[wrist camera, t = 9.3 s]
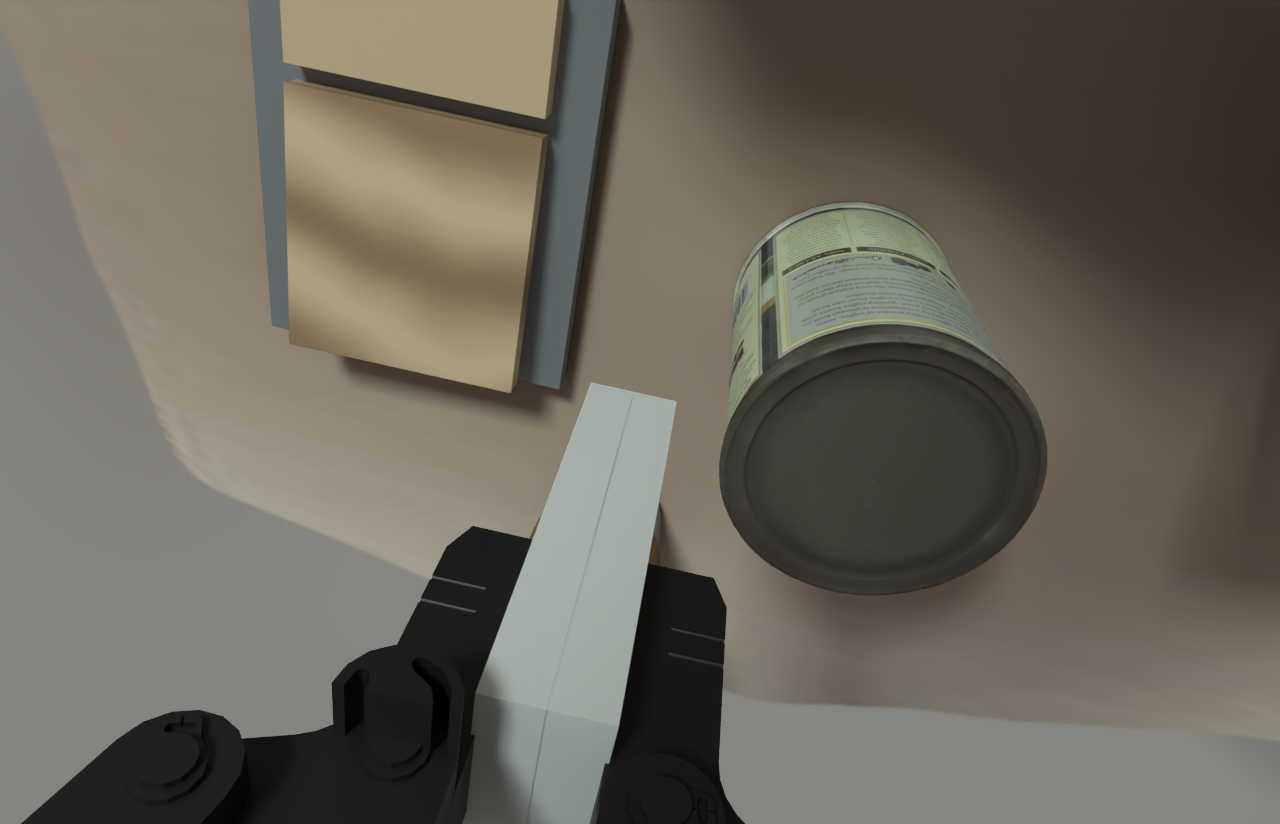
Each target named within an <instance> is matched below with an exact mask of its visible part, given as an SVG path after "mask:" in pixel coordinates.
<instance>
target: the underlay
mask: <svg viewBox="0 0 1280 824" xmlns="http://www.w3.org/2000/svg"><path fill="white" fill-rule="evenodd" d="M248 5H249V19H250V32H251V46H252V60H253V73H254V87H255V100H256V114H257V128H258V141H259V155H260V168H261V182H262V196H263V209H264V223H265V237H266V250H267V264H268V277H269V291H270V305H271V318H272V326H276V327H281V328H285V329H289V299H288V256H287V213H286V170H285V128H284V85H283V82H286V81H291V80H296V79H299V80H303V81H308V82H313V83H317V84H322V85H326V86H331V87H336V88H340V89H345V90H349V91H354V92H358V93H363V94H368V95H372V96H377V97H381V98H386V99H391V100H395V101H400V102H404V103H409V104H414V105H418V106H423V107H427V108H432V109H437V110H441V111H446V112H450V113H455V114H459V115H464V116H469V117H473V118H478V119H482V120H487V121H492V122H496V123H501V124H505V125H510V126H515V127H519V128H524V129H528V130H533V131H537V132H542V133H547V134H549V137H548V145H547V153H546V161H545V168H544V176H543V184H542V192H541V200H540V207H539V215H538V223H537V231H536V239H535V247H534V254H533V262H532V270H531V278H530V286H529V293H528V301H527V309H526V317H525V325H524V333H523V340H522V348H521V356H520V364H519V372H518V379H517V380H518V381H523V382H527V383H532V384H536V385H541V386H545V387H550V388H554V389H560V387H561V384H562V382H563V380H564V377H565V374H566V368H567V361H568V354H569V348H570V341H571V334H572V328H573V321H574V314H575V307H576V301H577V294H578V287H579V281H580V274H581V267H582V261H583V254H584V247H585V240H586V234H587V227H588V220H589V214H590V207H591V200H592V194H593V187H594V180H595V173H596V167H597V160H598V153H599V147H600V140H601V133H602V127H603V120H604V113H605V107H606V100H607V93H608V86H609V80H610V73H611V66H612V60H613V53H614V46H615V40H616V33H617V26H618V19H619V13H620V6H621V0H248Z"/></svg>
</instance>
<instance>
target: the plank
mask: <svg viewBox="0 0 1280 824" xmlns="http://www.w3.org/2000/svg"><path fill="white" fill-rule="evenodd" d="M283 85H284V128H285V170H286V213H287V256H288V299H289V342H290V344H293V345H297V346H301V347H306V348H310V349H315V350H319V351H324V352H328V353H333V354H337V355H342V356H346V357H351V358H355V359H360V360H364V361H369V362H373V363H378V364H382V365H387V366H391V367H396V368H400V369H405V370H409V371H413V372H418V373H422V374H427V375H431V376H436V377H440V378H445V379H449V380H454V381H458V382H463V383H467V384H472V385H476V386H481V387H485V388H490V389H494V390H499V391H503V392H508V393H511V392H512V390H513V389H514V387H515V385H516V384H517V379H518V372H519V364H520V356H521V348H522V340H523V333H524V325H525V317H526V309H527V301H528V293H529V286H530V278H531V270H532V262H533V254H534V247H535V239H536V231H537V223H538V215H539V207H540V200H541V192H542V184H543V176H544V168H545V161H546V153H547V145H548V137H549V134H547V133H542V132H537V131H533V130H528V129H524V128H519V127H515V126H510V125H505V124H501V123H496V122H492V121H487V120H482V119H478V118H473V117H469V116H464V115H459V114H455V113H450V112H446V111H441V110H437V109H432V108H427V107H423V106H418V105H414V104H409V103H404V102H400V101H395V100H391V99H386V98H381V97H377V96H372V95H368V94H363V93H358V92H354V91H349V90H345V89H340V88H336V87H331V86H326V85H322V84H317V83H313V82H308V81H303V80H299V79H296V80H291V81H286V82H283Z"/></svg>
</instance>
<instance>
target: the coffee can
mask: <svg viewBox="0 0 1280 824" xmlns="http://www.w3.org/2000/svg"><path fill="white" fill-rule="evenodd" d="M1046 470H1047V443H1046V438H1045V433H1044V430H1043V426H1042V423H1041V420H1040V417H1039V415H1038V412H1037V410H1036V408H1035V406H1034V404H1033V403H1032V401H1031V400H1030V398H1029V396H1028V395H1027V393H1026V392H1025V390H1024V389H1023V388H1022V386H1021V385H1020V384H1019V383H1018V381H1017V380H1016V379H1015V378H1014V377H1013V376H1012V375H1011V373H1010V372H1009V371H1008V369H1007V367H1006V365H1005V364H1004V362H1003V360H1002V358H1001V356H1000V355H999V353H998V351H997V349H996V348H995V346H994V344H993V342H992V341H991V339H990V337H989V335H988V334H987V332H986V330H985V328H984V327H983V325H982V323H981V321H980V320H979V318H978V316H977V314H976V312H975V311H974V309H973V307H972V305H971V304H970V302H969V301H968V299H967V297H966V296H965V294H964V292H963V291H962V289H961V287H960V285H959V284H958V282H957V280H956V278H955V277H954V275H953V273H952V272H951V270H950V267H949V264H948V262H947V260H946V258H945V255H944V254H943V252H942V250H941V248H940V247H939V246H938V244H937V243H936V241H935V240H934V239H933V238H932V237H931V235H930V234H929V233H928V232H927V231H926V230H925V229H923V228H922V227H921V226H920V225H919V224H917V223H916V222H915V221H913V220H912V219H910V218H909V217H908V216H906V215H904V214H902V213H900V212H897V211H894V210H891V209H888V208H886V207H883V206H879V205H875V204H869V203H862V202H843V203H834V204H828V205H824V206H818V207H813V208H811V209H809V210H807V211H805V212H802V213H800V214H797V215H795V216H793V217H791V218H789V219H788V220H786V221H784V222H783V223H781V224H779V225H778V226H777V227H775V228H774V229H773V230H772V231H770V232H769V233H768V234H767V235H766V236H765V237H764V238H763V239H762V240H761V241H760V242H759V243H758V244H757V246H756V247H755V248H754V249H753V251H752V252H751V253H750V255H749V257H748V258H747V259H746V261H745V263H744V265H743V267H742V269H741V272H740V274H739V277H738V280H737V283H736V286H735V291H734V297H733V333H732V351H731V369H730V384H729V396H728V413H727V430H726V433H725V437H724V441H723V445H722V450H721V455H720V463H719V477H720V489H721V494H722V498H723V502H724V505H725V507H726V510H727V512H728V515H729V517H730V519H731V521H732V523H733V525H734V526H735V528H736V529H737V531H738V532H739V534H740V536H741V537H742V538H743V539H744V541H745V542H746V543H747V544H748V546H749V547H750V548H751V549H752V550H753V551H754V552H755V553H757V554H758V555H759V556H760V557H761V558H762V559H763V560H765V561H766V562H767V563H769V564H770V565H771V566H773V567H775V568H777V569H778V570H780V571H782V572H783V573H785V574H787V575H789V576H791V577H793V578H795V579H798V580H800V581H803V582H805V583H807V584H810V585H813V586H816V587H819V588H823V589H826V590H830V591H835V592H840V593H847V594H855V595H889V594H898V593H906V592H913V591H916V590H920V589H925V588H930V587H933V586H936V585H939V584H942V583H945V582H947V581H950V580H952V579H955V578H957V577H959V576H962V575H964V574H966V573H967V572H969V571H971V570H973V569H975V568H976V567H978V566H980V565H981V564H983V563H984V562H985V561H987V560H988V559H990V558H991V557H992V556H994V555H995V554H996V553H998V552H999V551H1000V550H1001V549H1003V548H1004V547H1005V546H1006V545H1007V544H1008V543H1009V542H1010V541H1011V540H1012V539H1013V538H1014V536H1015V535H1016V534H1017V533H1018V532H1019V531H1020V530H1021V528H1022V527H1023V525H1024V524H1025V522H1026V521H1027V520H1028V518H1029V517H1030V515H1031V513H1032V511H1033V510H1034V508H1035V506H1036V504H1037V502H1038V499H1039V497H1040V494H1041V491H1042V489H1043V485H1044V481H1045V476H1046Z"/></svg>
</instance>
